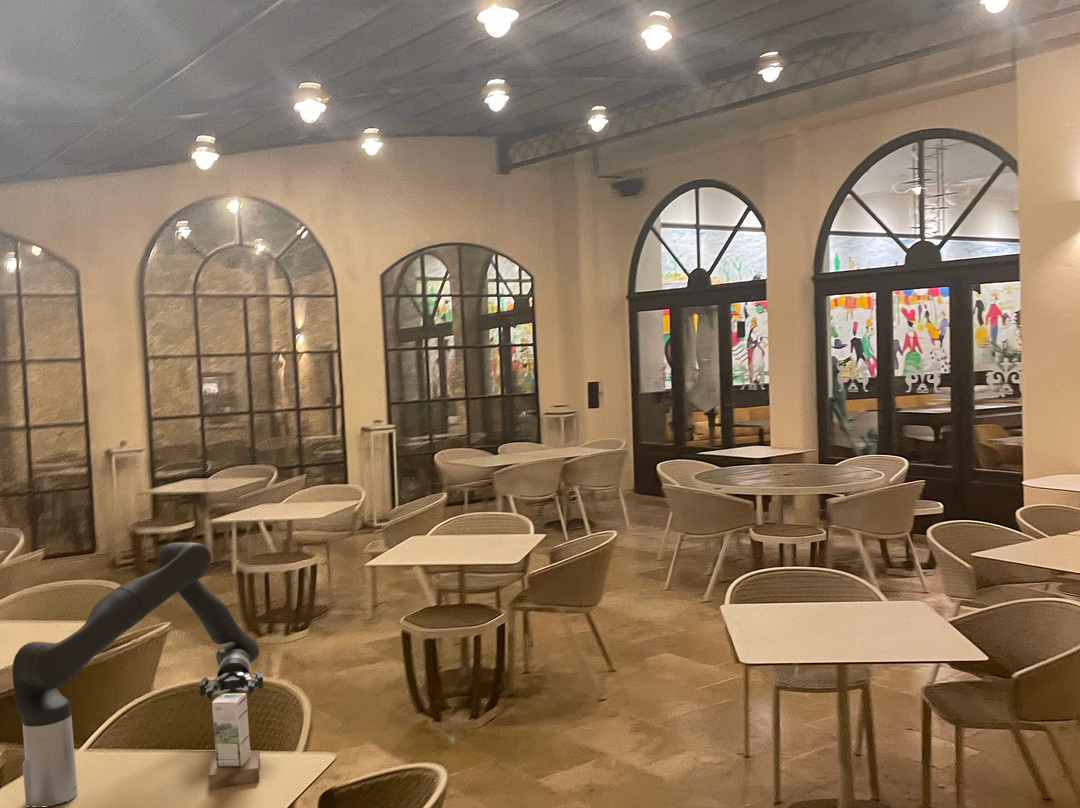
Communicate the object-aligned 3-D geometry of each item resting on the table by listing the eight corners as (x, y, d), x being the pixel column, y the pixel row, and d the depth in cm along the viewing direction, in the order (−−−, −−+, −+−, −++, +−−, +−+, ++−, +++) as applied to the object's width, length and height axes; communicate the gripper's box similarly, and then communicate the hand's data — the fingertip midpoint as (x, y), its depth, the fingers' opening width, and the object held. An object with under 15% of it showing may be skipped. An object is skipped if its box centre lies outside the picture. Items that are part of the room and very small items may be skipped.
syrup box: (251, 756, 214) (247, 691, 213) (241, 767, 208) (236, 701, 207) (226, 757, 214) (222, 692, 214) (215, 768, 208) (210, 701, 208)
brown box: (209, 789, 205) (208, 775, 205) (213, 770, 215) (212, 757, 215) (259, 781, 208) (258, 767, 208) (260, 763, 217) (259, 750, 217)
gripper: (202, 660, 235) (196, 680, 219) (263, 653, 239) (261, 672, 223) (204, 691, 235) (198, 713, 220) (265, 683, 239) (263, 704, 223)
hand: (230, 692), depth 221 cm, fingers open, 8 cm apart
